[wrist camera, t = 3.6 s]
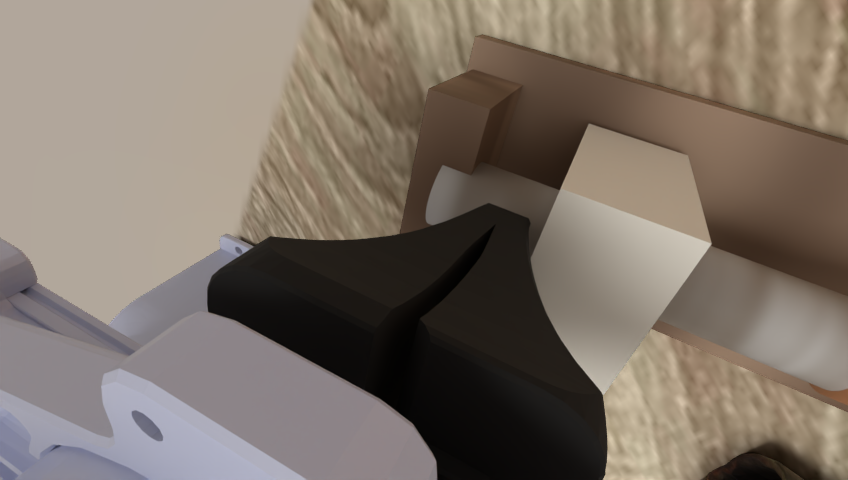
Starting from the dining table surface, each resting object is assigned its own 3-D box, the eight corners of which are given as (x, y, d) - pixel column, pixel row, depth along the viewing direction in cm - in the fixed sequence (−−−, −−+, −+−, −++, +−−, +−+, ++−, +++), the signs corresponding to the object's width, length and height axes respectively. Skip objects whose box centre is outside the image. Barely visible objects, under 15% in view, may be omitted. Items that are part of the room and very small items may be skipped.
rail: (434, 225, 19) (375, 290, 15) (482, 34, 15) (417, 50, 11) (965, 447, 14) (1097, 635, 10) (1276, 265, 10) (1741, 464, 6)
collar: (532, 253, 16) (490, 351, 12) (589, 123, 13) (560, 188, 9) (611, 285, 16) (597, 403, 11) (688, 155, 13) (712, 243, 8)
